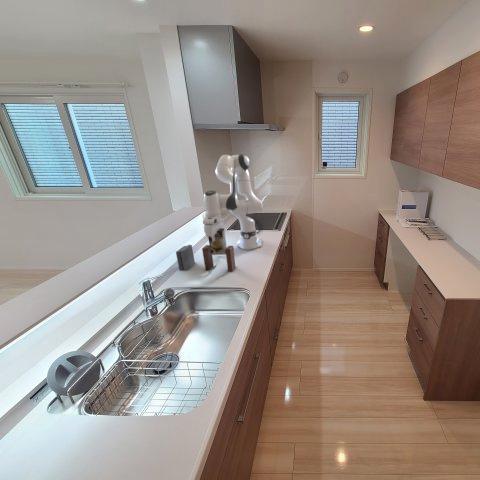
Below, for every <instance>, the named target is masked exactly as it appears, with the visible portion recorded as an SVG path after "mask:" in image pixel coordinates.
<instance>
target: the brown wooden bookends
mask: <svg viewBox="0 0 480 480" xmlns="http://www.w3.org/2000/svg"><path fill="white" fill-rule="evenodd" d="M226 247H227V248H226V249H225V250H226V254H225V258H226V267H227V271H228V272H233V271H234V270H235V269H236V259H235V250H234V249H235V248H234V245H228V246H226ZM201 250H202V256H203V257H202V258H203V263H204V270H205V271H206V272H207V271H209V272H210V271H211V270H212V269H213V268H214V267H215V264H214V259H213V255H211V251H210V245H209V244H205V245H204V246H203V247H202V248H201Z"/></svg>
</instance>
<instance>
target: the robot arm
mask: <svg viewBox="0 0 480 480" xmlns="http://www.w3.org/2000/svg"><path fill="white" fill-rule="evenodd" d="M250 164H251V163H250V158H249V156H248V155H246V154H244V153H240V154H232V155H229V154H223V155H221V156H220V158H219V159H218V162H217V165H216V168H215V176H216V178H217V179H218V180H219V181H220V182H222V183H225V184H227V185H229V188H230V189H229V190H230V191H229V193H228V194H221V193H218V191H216V190H208V191H207V190H206V191H205V192H204V193H203V205H204V209H205V216H204V218H203V220H202V224H203V225H204V226H203V227H204V233H205V234H204V235H205V236H206V237H207V238H208V237H211V238H212V241H215V240H216V238H215V234H216V233H217V231H218V230H219V229H221V228H224V227H225V222H224V218H223V216H222V211H221V210H225V211H227V210H228V211H229V212H230V214H232V215H233V216H235V217H236V219H238V222H239V226H240V236H239V239H238V241H237V242H236V244H237V247H238V248H240V249H241V250H246V251H247V250H250V251H251V250H254V249H258V248H261V247H262V240H263V239H260V237H259V233H260V231H261V229H262V226H261V224H260V222H259V220H258V219H256V222H257V224H258V226H259V230H258V231H257V227H256V222H255V220H254V219H253V218H252V217H250V216H247V215H248V214H249V215H250V214H257V213H260V212H262V211H263V209H264V204H263V202H262V200H261V199H259V198H258V197H257V196H256V195H255V194H254V192H253V188H252V184H251V176H250V173H249V168H250ZM239 195H241V196H243V197H244V198H245V199H239Z"/></svg>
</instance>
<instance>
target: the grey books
mask: <svg viewBox="0 0 480 480" xmlns="http://www.w3.org/2000/svg"><path fill="white" fill-rule="evenodd" d="M175 255H176V261H177V265H178V269H179V270H180V271H183V270H184V271H189V269H191V268H192V266H194V265H195V263H196V260H195V256H194V250H193V245H192V244H187V245H183V246H182V247H180V248H179V249H177V250H175Z"/></svg>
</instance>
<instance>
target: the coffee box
mask: <svg viewBox="0 0 480 480" xmlns="http://www.w3.org/2000/svg"><path fill="white" fill-rule="evenodd" d="M207 238H208V245H210V251H211V255H212V256H220V255H221V256H222V255H226V250H225V249H226V248H227V247H228V246H227V239H226V231H225V228H224V227H223V228H221V229H219V230H218V231H217V233H216V234H215V238H216V240H215V241H212V238H211V237H208V236H207Z"/></svg>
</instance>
